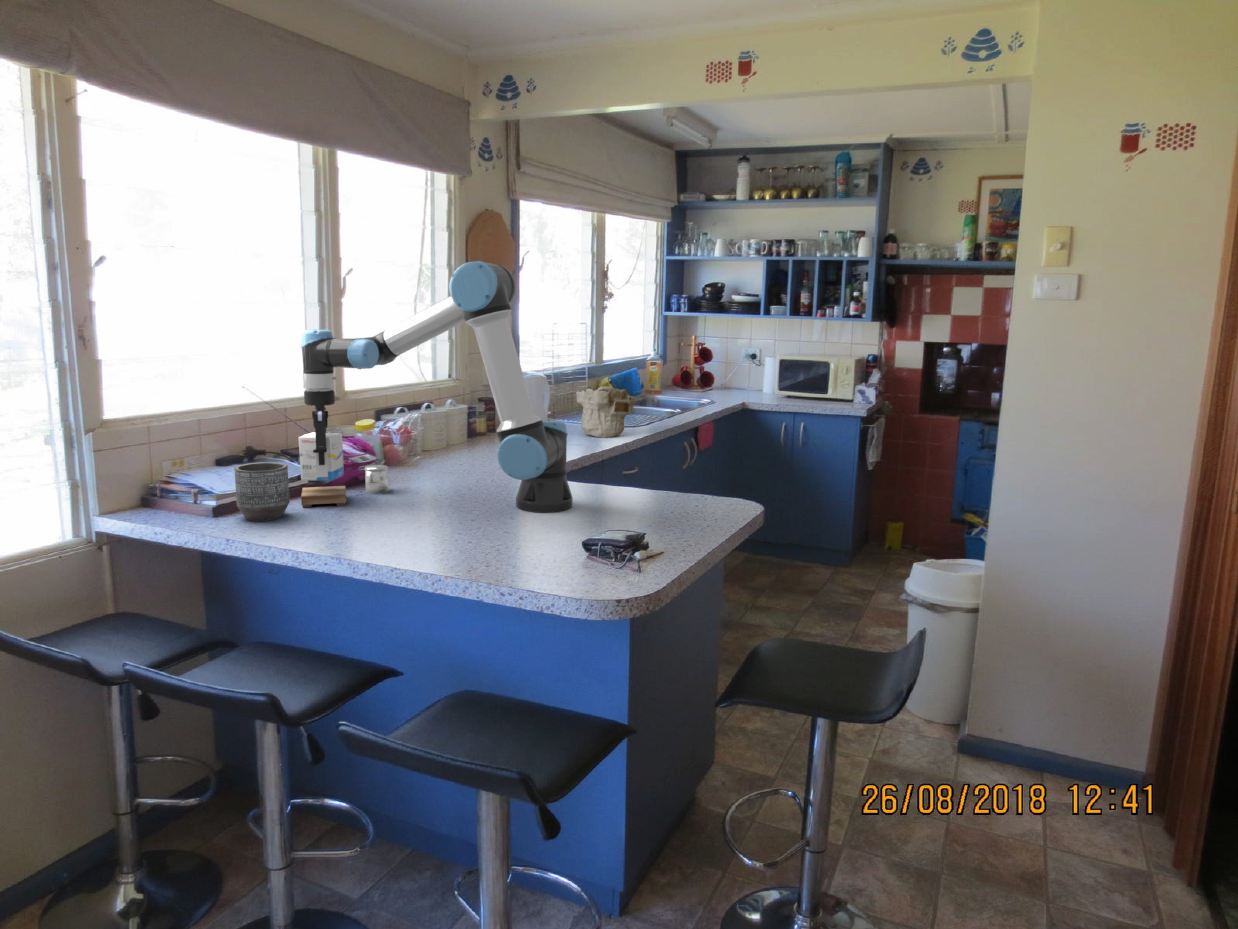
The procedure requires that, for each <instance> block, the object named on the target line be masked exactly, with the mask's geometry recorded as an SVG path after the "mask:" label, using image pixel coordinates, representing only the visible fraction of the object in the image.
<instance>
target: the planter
mask: <svg viewBox="0 0 1238 929" xmlns="http://www.w3.org/2000/svg"><path fill="white" fill-rule="evenodd" d="M288 467H289V466H288V464H287V463H284V462H276V461H275V462H273V461H266V462H265V461H262V462H249V463H244V464H240V465H236V466H234V482H235V484H234V486H235V500H236V501H235V502H236V507H237V509H238V510H239V511H240V513H241V514H242V515H243V516H244V517H245V519H246V520H247V521H251V520H252V521H254V522H264V521H265V522H266V521H273V520H277V519H280V518H282V517H283V515H284V514H285V512H286V510H287V508H288V506H289V504H290V489H289V486H290V484H289V481H290V480H289V470H288V469H289V468H288ZM252 521H251V522H252Z"/></svg>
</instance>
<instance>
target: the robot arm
mask: <svg viewBox="0 0 1238 929" xmlns="http://www.w3.org/2000/svg"><path fill="white" fill-rule="evenodd" d="M516 283H517V282H516V280H515V277H514V275H513V274H512V272H511V271H510V270H509V269H508V268H507V267H505V266H504V265H501V264H499V263H494V262H493V263H491V262H485V261H482V260H475V261H469V262H464V263H463V264H461V265H459V266H458V267H457V268H456V269H455V270H454V272H453V274H452V275H451V276H450V279H449V285H448V290H449V296H447V297H446V298H444V299H442V300H440V301H438V302H436V303H434V304H432V305H430V306H429V307H426V308H424V309H423V310H421V311H420V312H417V313H415V314H414V315H412V316H410V317H408V318H406V319H404V320H402V321H400V322H398V323H397V324H395V325H393V326H391V327H389V328H386V329H385V330H383V331H382V332H379V333H378V334H376V335H373V336H371V337H370V336H369V337H356V338H337V337H334V336H333V332H332V331H331V330H330V329H305V330H303V331H302V333H301V347H300V348H301V354H302V355H301V356H302V365H303V366H302V368H303V373H302V380H303V382H302V383H303V388H304V389H305V390H304V391H303V396H304V397H303V399H304V405H305V406H310V407H311V406H314V410H312V412H311V415H312V416H311V417H312V420H313V429H315V433H316V448H315V449H316V450H313V453H316V467H317V477H328V465H327V452H326V451H327V448H326V433H327V428H328V420H329V411H328V410H326V409H327V408H326V406H331V405H334V404H336V400H335V399H336V397H335V391H334V390H333V388H334V387H335V382H334V381H336V380H337V377H336V376H334V368H343V369H344V368H346V369H358V370H363V369H365V370H366V369H373V368H374V367H375V366H384V365H387V364H391V363H392V362H394V361H395V360H396V358H397V357H399V356H401V355H402V354H404V353H406V352H408V351H410V350H412V349H414V348H417V347H418V346H420V345H422V344H424V343H426V342H428V341H430V340H432V339H434V338H436V337H437V336H439V335H442V334H444V333H445V332H447V331H449V330H451V329H453V328H454V329H455V327H458V326H459V325H461V324H464V323H465V324H466V325H468V326H469V327H471V328H472V329H473V330H474V334H475V337H476V342H477V345H478V348H479V349H478V350H479V353H480V356H481V358H482V359H481V360H482V362H483V365H484V366H483V367H484V370H485V374H486V376H487V379H488V383H489V387H490V390H491V394H492V397H493V401H494V404H495V409H496V412H497V416H498V419H499V422H500V424H499V426H498V427H497V429H496V434H497V437H498V440H499V446H498V449H497V452H496V454H497V461H498V464H499V467H500V468H501V470H502V471H503V472H504V473H505V474H506V475H507V476H509V477H510V478H512V479H515V480H519V481H520V480H521V481H520V484H519V487H518V491H517V494H516V497H515V507H516V508H517V509H519V510H523V511H525V512H532V513H533V512H535V513H552V512H553V513H555V512H561V510H562V511H566V510H569V509H571V508H572V507H573V506H572V505H574V504H573V503H574V502H573V499H574V498H573V495H572V492H571V489H570V484H569V482H568V479H567V439H568V438H567V437H568V432H567V431H568V430H567V425H566V423H565V422H563V421H552V420H543V419H542V417H540V416H538V415H537V414H535V412H534V409H533V406H532V402H531V398H530V395H529V391H528V387H527V384H526V381H525V377H524V373H523V370H522V366H521V361H520V359H519V356H518V352H517V348H516V345H515V341H514V338H513V335H512V334H513V333H512V331H511V326H510V324H509V317H510V316H511V314H512V312H513V311H512V307H511V303H512V301H513V300H514V297H515V296H516V290H517V284H516ZM319 446H324V447H319ZM570 507H571V508H570ZM568 508H569V509H568Z"/></svg>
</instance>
